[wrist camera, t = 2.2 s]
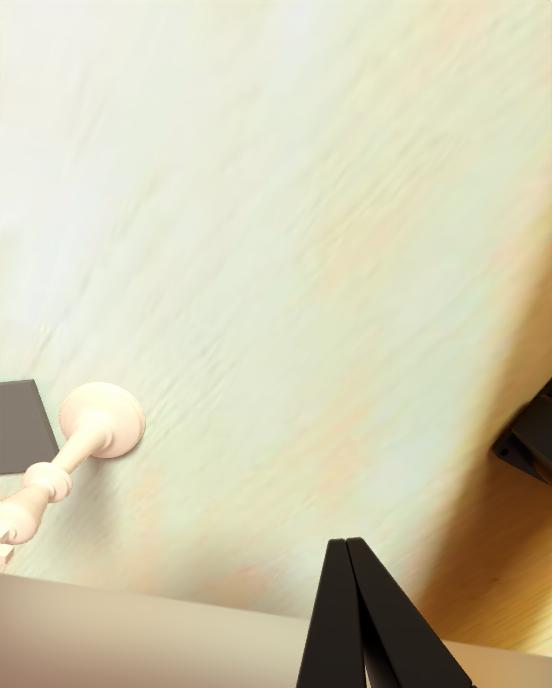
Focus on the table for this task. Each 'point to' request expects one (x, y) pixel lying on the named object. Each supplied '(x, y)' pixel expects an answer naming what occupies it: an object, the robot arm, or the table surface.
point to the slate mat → (23, 428)
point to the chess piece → (71, 456)
